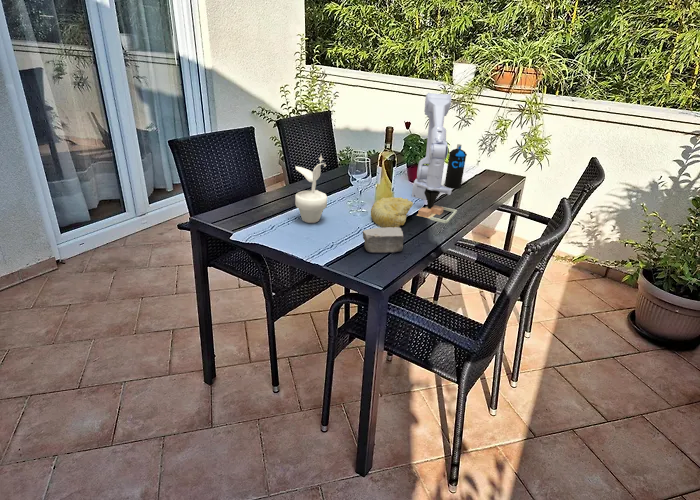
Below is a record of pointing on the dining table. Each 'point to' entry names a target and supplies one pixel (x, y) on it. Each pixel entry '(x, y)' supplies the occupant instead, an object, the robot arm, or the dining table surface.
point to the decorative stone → (383, 240)
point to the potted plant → (311, 196)
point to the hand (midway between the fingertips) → (430, 207)
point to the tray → (448, 218)
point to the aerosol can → (455, 168)
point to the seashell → (390, 211)
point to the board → (430, 215)
